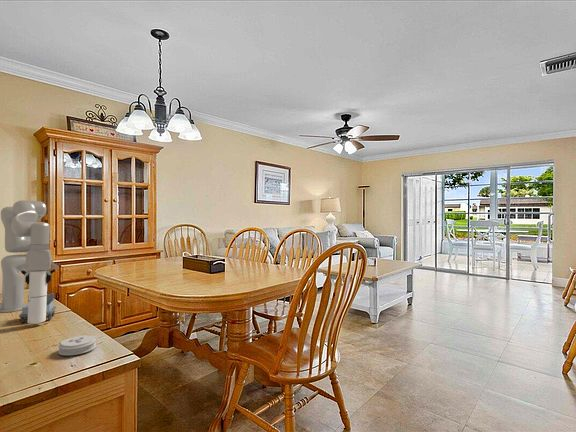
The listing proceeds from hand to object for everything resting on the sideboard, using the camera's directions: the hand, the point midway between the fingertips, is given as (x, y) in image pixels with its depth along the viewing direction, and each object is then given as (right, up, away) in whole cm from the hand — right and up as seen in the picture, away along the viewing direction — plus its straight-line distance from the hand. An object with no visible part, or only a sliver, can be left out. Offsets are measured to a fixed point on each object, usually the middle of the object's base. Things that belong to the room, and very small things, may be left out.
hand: (38, 283), depth 157 cm
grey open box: (-8, -21, +9) cm, 24 cm away
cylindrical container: (-1, -19, 0) cm, 19 cm away
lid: (+40, -21, -30) cm, 54 cm away
